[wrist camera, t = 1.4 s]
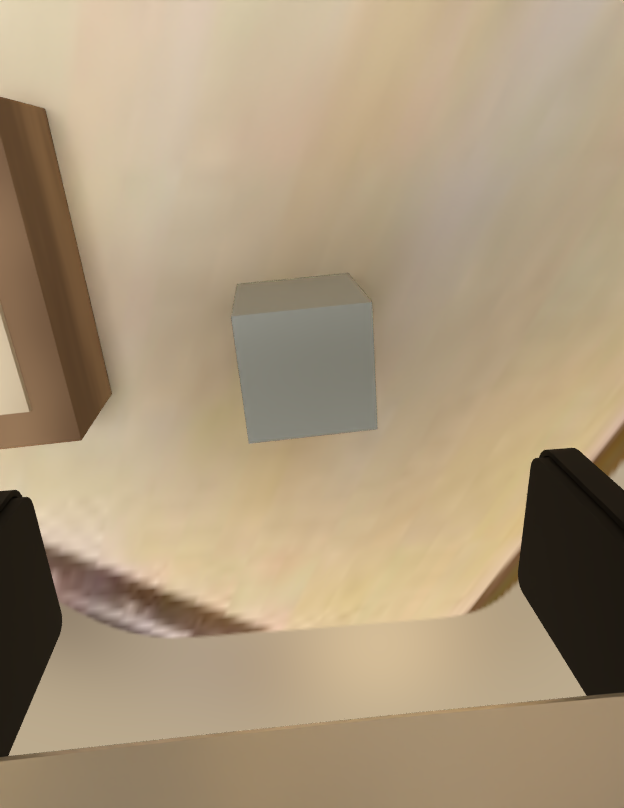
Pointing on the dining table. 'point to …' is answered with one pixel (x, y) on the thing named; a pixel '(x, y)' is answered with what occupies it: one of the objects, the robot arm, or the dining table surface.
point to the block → (305, 357)
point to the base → (42, 295)
